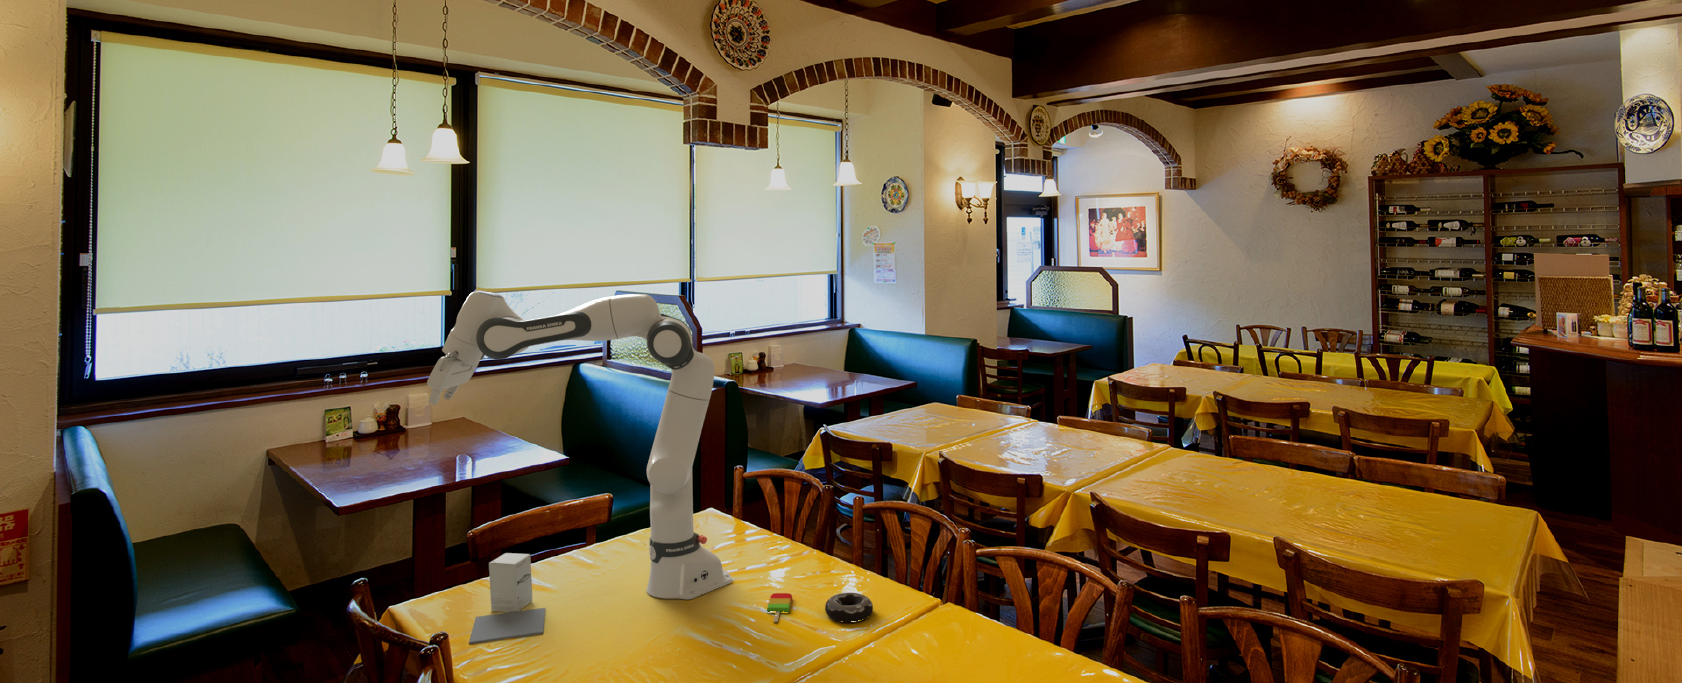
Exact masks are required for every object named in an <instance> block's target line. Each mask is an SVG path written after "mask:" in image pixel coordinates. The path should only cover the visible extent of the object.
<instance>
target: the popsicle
mask: <svg viewBox="0 0 1682 683" xmlns="http://www.w3.org/2000/svg"><path fill="white" fill-rule="evenodd" d="M768 600H769V601H768V604H767V608H766V612H767V611H768V612H770V611H776V613H774V617H773V623H774V622H777V623H778V622H779V618H778V617H780V614H781V613H780V612H783V611H784V612H789V613H790V611H789V609H790V610H791V607H790V605H791V606H792V603H791V601H792V602H793V595H792V593H789V592H788V593H787V592H779V593H778V592H777V593H772V594H771V595H770V597H769V599H768ZM779 613H780V614H779ZM775 615H777V616H775Z"/></svg>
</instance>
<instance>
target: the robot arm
mask: <svg viewBox="0 0 1682 683" xmlns="http://www.w3.org/2000/svg"><path fill="white" fill-rule="evenodd" d="M455 321H456V322H455V325H454V327H453V328H452V329H451V330H450V332H449V334H448V336H447V338H446V341H445V343H444V344H443V347H442V349H441V351H442V352H443V353H444V354H445V355H444V356H441V357H440V358H439V359H438V360H437V362H436V364H435V365H434V366H433V369H432V371H431V372H430V375H429V376H428V379H427V381H426V382H427V383H426V385H427V386H428V387H429V388H431V391H430V397H429V399H428V403H429V404H431V405H437V404H438V403H439V401H440V399H441V394H442V393H443V390H445V392H444V394H443V399H445V400H452V399H453V397H454V394H455V393H456V392H457V390H458V389H459V388H460V386H461V385H463V384H466V383H468V382H469V381H470V379H472V376H473V375H474V373H475V372H476V369H477V368H478V366H479V363H480V361H481V360H482V361H483V359H484V358H485V356H486V357H487V358H489V359H492V360H505V359H508V358H509V357H512V356H514V355H516V354H520V353H522V352H525V351H526V350H528V348H529V347H534V346H538V345H543V344H550V343H554V342H559V341H586V342H587V341H589V342H590V341H591V342H595V341H596V342H597V341H599V342H601V341H613V340H614V341H615V340H620V339H624V338H630V337H639V338H643V339H644V340H646V346H647V351H648V352H649V354H650V356H651V357H653V358H654V359H655V360H656V361H657V362H659V363H660V364H662V365H664V366H666V367H667V368H669V369H670V370H671V377H670V382H669V384H668V388H667V392H666V396H665V399H664V403H663V407H662V411H661V414H660V417H659V422H658V426H657V429H656V432H655V436H654V440H653V444H652V447H651V450H650V455H649V457H648V458H649V459H648V463H647V465H646V476H647V480H648V482H649V485H650V488H649V489H650V491H649V492H650V498H649V499H650V500H649V519H650V537H649V548H648V550H649V552H648V553H649V558H650V567H649V568H650V570H649V577H648V583H647V586H646V593H647V594H648V595H650V596H652V597H654V598H659V599H680V600H681V599H682V600H692V599H695V598H697V597H699V596H702V595H705V594H707V593H709V592H712V591H714V589H715V590H716V588H717V589H719V587H720V588H722V587H724V586H727V585H730V584H731V583H732V576H731V574H730V573H729V572H728V571H726V570H725V569H723V564H722V562H721V560H720V558H719V557H718V556H717V555H716V554H714V552H712V551H711V550H708V549H707V548H705V547H703V546H702V545H705V544H706V543H707V541H708V537H707V536H706V535H703V534H699V533H696V532H694V510H693V509H694V507H693V506H694V502H693V501H694V499H693V498H694V496H693V465H694V461H695V458H696V454H697V450H698V445H699V442H700V437H701V434H702V429H703V426H704V422H705V419H706V414H707V410H708V407H709V404H710V399H711V396H712V391H713V386H714V380H715V368H716V367H715V362H714V361H713V359H712V358H711V357H710V356H708V355H707V354H706V353H702V352H700V351H697V350H695V348H694V347H693V338H692V336H693V335H692V331H691V329H690V328H689V326H688V325H687V324H686V323H685V322H684V321H683V320H681V319H678V318H676V317H673V316H670V315H667V314H664V313H661V312H660V309H659V306H658V303H657V301H656V300H655V299H654V297H652V296H651V295H650V294H647V293H646V294H645V293H628V294H627V293H625V294H617V295H616V294H615V295H610V296H604V297H600V298H596V299H593V300H590V301H587V302H585V303H583V304H580V305H578V306H576V307H574V308H572V309H570V310H567V311H564V312H562V313H557V314H556V315H555V314H554V315H550V316H545V317H543V316H542V317H539V318H533V319H528V320H527V319H523V318H522V317H520V316H519V315H518V314H517V313H515V311H514V310H513V309H512V308H511V307H510V306H509V304H508V303H507V302H506V300H505V298H504V297H503V296H502V295H500V294H498V293H496V292H492V291H488V290H474V291H473V292H471V293H470V294H469V295H468V296H467V297H466V300H465V301H464V303H463V304H462V306H461V309H460V310H459V312H458V314H457V317H456V320H455ZM701 544H702V545H701ZM701 594H702V595H701Z"/></svg>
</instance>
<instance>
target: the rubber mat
mask: <svg viewBox="0 0 1682 683" xmlns="http://www.w3.org/2000/svg"><path fill="white" fill-rule="evenodd" d="M545 617H546V607H541V608H533V609H532V608H531V609H525V610H519V611H516V612H501V613H495V614H487V615H481V616H480V615H479V616H475V618H474V622H473V626H472V629H471V633H470V637H469V640H468V645H472V644H479V643H487V642H494V641H500V640H502V641H503V640H507V639H514V638H522V637H530V636H536V635H542V634H544V631H545V630H544V628H545Z"/></svg>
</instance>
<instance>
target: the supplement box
mask: <svg viewBox="0 0 1682 683" xmlns="http://www.w3.org/2000/svg"><path fill="white" fill-rule="evenodd" d="M531 562H532V561H531V554H530V553H517V552H515V553H512V552H505V553H502V555H500V556H498V557H497V558H495V559H493V560H492V561H489V562H488V571H489V588H490V589H489V591H490V594H489V595H490V609H491V611H492V612H501V613H509V612H516V611H521V610H522V609H523V608H524V607H526V606H527V605H529V604H530V603H532V602H533V583H532V582H533V580H532V579H533V578H532V566H531V565H532V564H531Z"/></svg>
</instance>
